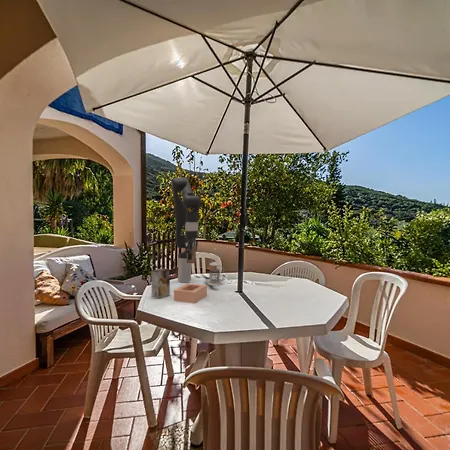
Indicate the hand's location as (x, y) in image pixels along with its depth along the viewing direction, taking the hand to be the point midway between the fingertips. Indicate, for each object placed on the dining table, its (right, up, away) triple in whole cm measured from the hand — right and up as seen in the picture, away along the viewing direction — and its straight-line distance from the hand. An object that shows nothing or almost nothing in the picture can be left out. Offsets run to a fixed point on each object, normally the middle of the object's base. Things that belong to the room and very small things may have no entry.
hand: (191, 258), depth 186 cm
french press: (+13, -22, +38) cm, 45 cm away
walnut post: (0, -2, 0) cm, 2 cm away
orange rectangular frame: (0, -23, +1) cm, 23 cm away
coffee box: (-19, -23, +3) cm, 30 cm away
